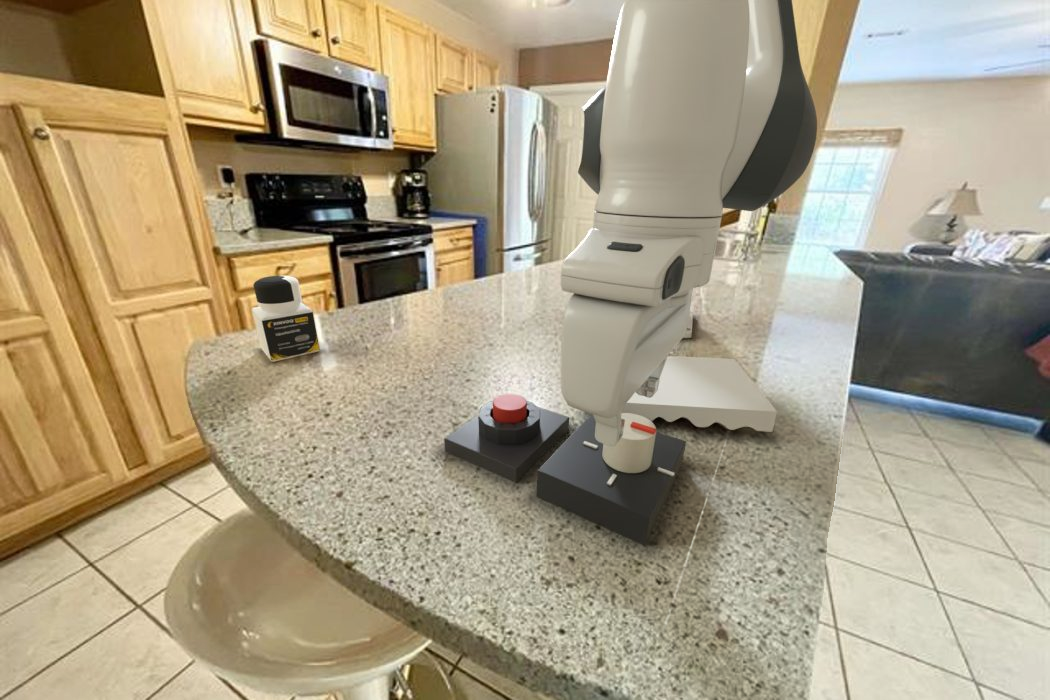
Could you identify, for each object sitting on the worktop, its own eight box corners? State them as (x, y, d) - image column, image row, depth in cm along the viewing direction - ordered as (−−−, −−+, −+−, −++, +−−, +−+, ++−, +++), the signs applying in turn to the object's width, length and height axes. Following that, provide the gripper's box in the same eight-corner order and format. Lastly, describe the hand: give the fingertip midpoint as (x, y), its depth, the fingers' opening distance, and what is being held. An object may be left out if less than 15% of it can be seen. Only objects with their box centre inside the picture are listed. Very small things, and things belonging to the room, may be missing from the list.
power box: (504, 407, 53) (504, 382, 51) (569, 429, 48) (570, 403, 47) (444, 451, 44) (442, 423, 43) (516, 483, 40) (516, 453, 38)
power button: (505, 404, 47) (505, 390, 47) (532, 413, 45) (533, 399, 45) (486, 418, 44) (485, 403, 44) (514, 428, 43) (514, 414, 42)
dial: (594, 462, 38) (598, 426, 36) (612, 438, 41) (616, 405, 40) (642, 480, 36) (648, 442, 34) (657, 453, 39) (663, 419, 38)
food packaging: (590, 425, 50) (770, 438, 47) (591, 400, 48) (777, 411, 46) (590, 373, 63) (730, 380, 61) (591, 352, 62) (734, 358, 59)
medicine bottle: (271, 363, 64) (253, 285, 59) (261, 349, 69) (243, 276, 64) (320, 351, 68) (307, 278, 64) (307, 339, 73) (294, 270, 69)
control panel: (590, 434, 47) (592, 410, 46) (684, 466, 42) (689, 440, 41) (536, 497, 38) (537, 468, 37) (648, 548, 33) (653, 517, 32)
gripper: (650, 237, 41) (634, 365, 46) (546, 269, 25) (538, 460, 30) (719, 243, 38) (693, 380, 43) (651, 284, 22) (622, 494, 27)
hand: (629, 414), depth 37 cm, fingers open, 8 cm apart
